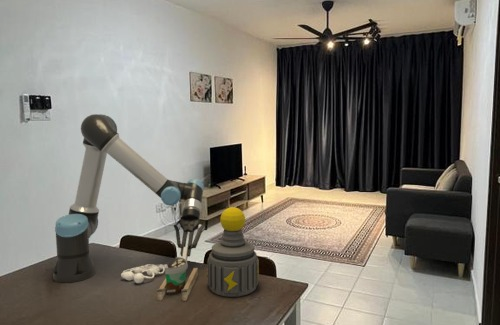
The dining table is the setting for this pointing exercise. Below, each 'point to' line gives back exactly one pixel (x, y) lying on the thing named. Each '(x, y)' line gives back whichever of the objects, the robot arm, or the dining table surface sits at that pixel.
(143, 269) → the tangled rod sculpture
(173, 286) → the food container
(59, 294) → the dining table surface
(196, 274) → the birch chute
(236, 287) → the decorative lamp
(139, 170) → the robot arm
